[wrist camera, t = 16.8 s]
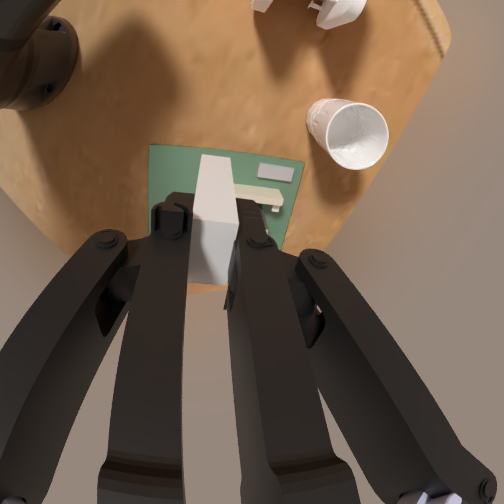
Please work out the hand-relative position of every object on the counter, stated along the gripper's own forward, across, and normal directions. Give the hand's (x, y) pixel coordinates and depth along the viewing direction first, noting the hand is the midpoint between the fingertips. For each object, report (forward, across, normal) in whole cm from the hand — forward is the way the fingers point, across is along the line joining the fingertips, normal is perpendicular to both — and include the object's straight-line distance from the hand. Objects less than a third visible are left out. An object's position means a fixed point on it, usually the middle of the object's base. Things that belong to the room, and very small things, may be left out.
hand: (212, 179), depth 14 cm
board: (+23, +3, -13) cm, 27 cm away
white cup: (+24, +15, +2) cm, 28 cm away
